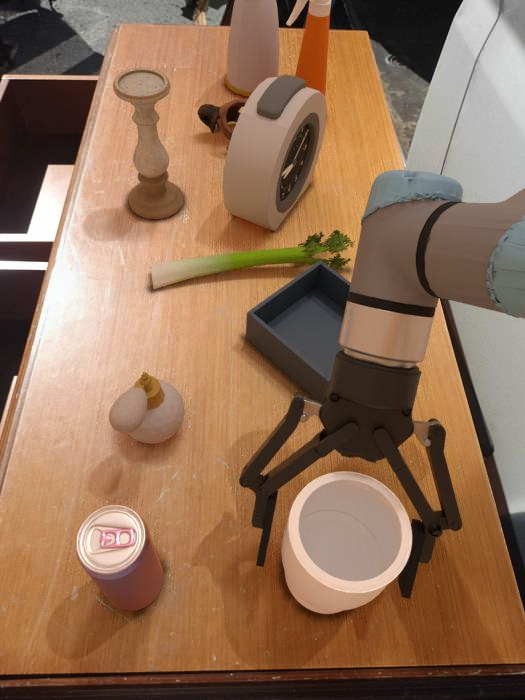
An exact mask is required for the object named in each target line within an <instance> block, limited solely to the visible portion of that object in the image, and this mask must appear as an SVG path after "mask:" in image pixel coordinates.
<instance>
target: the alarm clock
mask: <svg viewBox="0 0 525 700" xmlns="http://www.w3.org/2000/svg"><path fill="white" fill-rule="evenodd" d="M246 101H247V102H246V104H245V106H244V107H242V110H241V111H240V116H239V118H238V121H237V122H235V125H234V127H233V128H234V129H232V130H233V133H232V137H231V140H230V144H229V143H228V144H229V147H228V150H227V149H226V156H225V161H224V165H223V173H222V188H221V189H222V196H223V198H222V199H223V203H224V206H225V208H226V210H227V212H229V213H230V214H231V215H232V216H235V217H237V218H240V219H242V220H244V221H247V222H248V223H249V222H250V223H253V224H254V225H257V226H260V227H262V228H265V229H267V230H270V231H276V230H277V229H278V228H279V227H280V225H281V224H282V222H283V221H284V220H285V218H286V217H287V216H288V214H289V213H290V211H291V210H292V209H293V208H294V206H295V205H296V203H297V202H298V200H300V198H301V197H302V195H303V194H304V193H305V191H306V190H307V188H308V187H309V185H310V183H311V181H312V178H313V175H314V172H315V170H316V167H317V164H318V162H319V157H320V154H321V151H322V148H323V142H324V137H325V132H326V126H327V118H328V109H327V106H328V105H327V101H326V95H325V96H324V95H323V94H322V93H321V92H320V91H317V90H314V89H311V88H308V87H306V81H305V80H303V79H301V78H298V77H295V75H291V74H287V73H286V74H282V75H280V76H279V78H278V77H271V78H267V79H266V80H265V81H263V82H262V83H260V84H259V85H258V87H257V88H256V89H255V90H254V92H253V93H252V94H251V95H250V97H249V96H248V99H247V100H246Z"/></svg>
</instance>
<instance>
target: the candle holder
mask: <svg viewBox="0 0 525 700" xmlns="http://www.w3.org/2000/svg"><path fill="white" fill-rule="evenodd" d="M112 88H113V92H114V94H115V95H116V97H118V99H120V100H121V101H124V102H126V103H129V104H131V105H132V106H133V107H134V112H133V113H132V116H131V120H132V121H133V123H134V124H136V127H137V143H136V146H135V148H134V151H133V156H132V162H133V166H134V168H135V170H136V171H137V172H138V173H137V180H138V181H139V183H138V184H136V185H135V186H133V188H132V189H130V192H129V193H128V205H129V207H130V209H131V210H132V211H133V213H135V215H138V216H139V217H141V218H145V219H150V220H161V219H166V218H168V217H171V216H173V215H175V214H176V213H178V212H179V211H180V210H181V208H182V206H183V204H184V194H183V191H182V189H181V188H180V187H179V186H178V185H177V184H176V183H174V182H171V181H170V180H169V178H170V177H169V172H168V168H169V165H170V157H169V154H168V151H167V149H166V147H165V146H164V144H163V143H162V141H161V139H160V137H159V132H158V127H157V123H158V122H159V120H160V114H159V113H158V112H157V110H156V109H155V105H156V104H157V103H158V102H159V101H161V100H164V99H165V98H166V97H167V96H168V95H169V93H170V92H171V82H170V79H169V78H168V76H167V75H166V74H165V73H163V72H162V71H159V70H157V69H154V68H149V67H134V68H130V69H126V70H124V71H122V72H120V73H118V74H117V75H116V76H115V78H114V79H113V82H112Z"/></svg>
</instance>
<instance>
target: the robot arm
mask: <svg viewBox="0 0 525 700" xmlns="http://www.w3.org/2000/svg"><path fill="white" fill-rule="evenodd" d="M462 186H463V185H461V183H460V182H459V180H456V179H455V178H452V177H450V176H447V175H442V174H438V173H434V172H429V171H423V170H417V171H414V170H408V169H392V170H386V171H384V172H381V173H379V174H378V175H377V176H376V177H375V178H374V180H373V182H372V184H371V188H370V191H369V195H368V199H367V202H366V206H365V209H364V212H363V216H362V217H361V219H360V226H361V227H360V233H359V237H358V238H359V239H358V245H357V248H356V249H357V250H356V254H355V259H354V264H353V269H352V275H351V280H350V282H351V284H350V290H349V291H350V292H349V294H348V300H347V303H346V308H345V313H344V317H343V322H342V327H341V332H340V337H339V341H338V342H339V343H340V345H341V346H342V347H344V350H341V351H339V352H338V353H337V354H336V356H335V361H334V366H333V370H332V375H331V380H330V385H329V390H328V394H327V396H326V398H325V399H324V401H323V402H322V403H321V402H318V401H317V400H316V399H312V398H308V397H306V396H305V394H304V393H303V392H301V391H297V392H294V393H293V394H292V396H291V399H290V403H289V405H288V408H287V411H286V414H285V415H284V416H283V418H281V420H280V421H279V422H278V424H277V425H276V426H275V428H274V429H272V431H271V432H270V434H269V435H268V437H266V438H265V440H264V441H263V443H262V444H261V445H260V446H259V448H258V449H257V450H256V451H255V453H254V454H253V455H252V456H251V458H250V459H249V461H248V462H247V463H246V464H245V465H244V467H243V468H242V470H241V473H240V476H239V479H238V485H239V486H240V487H242V488H244V489H247V488H248V489H249V490H251V491H252V492H253V493H254V495H255V501H254V505H253V511H252V515H251V516H252V517H251V526H252V528H254V529H260V530H262V531H261V536H260V542H259V546H258V552H257V557H256V562H255V566H256V567H260V568H264V567H265V563H266V559H267V558H266V557H267V552H268V546H269V541H270V537H271V533H272V532H271V531H272V527H273V521H274V516H275V511H276V505H277V501H278V496H279V495H278V494H279V490H280V489H281V488H283V487H284V486H285V485H287V483H289V482H290V481H292V480H293V479H294V478H296V477H297V476H299V475H300V474H301V473H302V472H304V471H305V470H307V469H308V468H309V467H311V466H312V465H313V464H315V463H316V462H317V461H319V460H321V459H323V458H325V457H327V456H329V454H331V453H332V452H333V451H336V452H337V453H339V454H340V456H341V457H344V458H348V459H349V458H350V459H351V458H360V459H362V460H364V461H366V462H369V463H373V464H376V463H377V462H379V461H383V460H386V461H387V462H388V465H389V466H390V468H391V470H392V471H393V474H395V476H396V478H397V480H398V481H399V483H400V485H401V486H402V488H403V490H404V492H405V494H406V495H407V497H408V498H409V499H408V500H410V503H411V504H412V506H413V508H414V510H415V511H416V513H417V515H418V516H419V518H420V519H417V518H412V519H411V522H410V524H411V529H412V547H411V552H410V555H409V558H408V561H407V563H406V565H405V567H404V568H403V570H402V571H401V572H400V574H399V575H398V576H397V584H398V588H399V592H400V596H401V598H404V599H408V600H411V596H412V593H413V588H414V585H415V580H416V576H417V572H418V568H419V564H420V563H421V564H425V565H429V563H430V561H431V560H432V556H433V552H434V548H435V544H436V541H437V539H438V538H440V537H441V536H442V535H443V531H448V530H451V531H452V532H459V531H460V530H462V528H463V520H462V517H461V513H460V508H459V505H458V502H457V497H456V493H455V490H454V486H453V482H452V478H451V474H450V470H449V466H448V463H447V459H446V455H445V444H446V436H447V430H446V429H445V427H444V426H443V425H442V423H441V422H440V421H439V419H437V418H435V417H434V418H430V419H428V420H427V421H426V420H415V419H414V420H413V409H414V405H415V401H416V397H417V392H418V388H419V384H420V380H421V376H422V370H420V367H419V365H418V366H417V364H419V363H421V362H423V361H425V359H426V354H427V350H428V346H429V345H428V344H429V340H430V337H431V331H432V327H433V323H434V319H435V315H436V311H437V310H436V309H437V308H438V304H439V299H440V300H443V301H444V300H445V301H451V302H456V303H461V304H464V305H469V306H473V307H476V308H480V309H484V310H485V309H486V310H489V311H493V312H497V313H502V314H505V315H507V316H512V317H513V318H516V319H523V320H525V187H524V188H523V189H521V190H519V191H518V192H515V193H514V194H513V195H511V196H510V197H508V198H507V199H505V200H502V201H498V202H466V201H465V202H464V201H463V195H464V189H463V187H462ZM313 416H318V418H319V420H320V423H321V425H322V427H323V428H322V429H321V430H320V431H319V432H317V433H316V434H314V436H313V437H312V439H310V440H309V441H307V443H304V444H303V446H301V447H300V448H298V449H297V450H295V452H293V453H292V454H290V455H289V456H288V457H287V458H285V459H284V460H282V461H281V462H280V463H278V464H277V465H275V466H274V467H272V469H271V470H269V471H267V473H264V474H263V473H262V472H263V471H264V470H265V469H266V467H267V466H268V465H269V464H270V462H271V461H272V460H273V458H274V457H276V455H277V454H278V453H279V452H280V450H281V448H283V446H284V445H285V443H286V442H287V441H288V440H289V439H290V437H291V436H292V435H293V434H294V432H296V430H297V428H298V426H299V423H306V422H308V421H309V420H310V419H311V417H313ZM413 435H416V436H417V439H418V441H419V443H420V445H421V446H422V447H424V448H425V453H426V457H427V460H428V464H429V467H430V468H429V469H430V471H431V475H432V479H433V482H434V483H433V484H434V486H435V490H436V495H437V498H438V501H439V506H440V509H441V510H433V508H432V506H431V504H430V503H429V501H428V499H427V498H426V496H425V494H424V492H423V490H422V489H421V486H420V485H419V483H418V482H417V480H416V477H415V476H414V474H413V472H412V471H411V469H410V467H409V466H408V464H407V462H406V460H405V458H404V457H403V455H402V453H401V451H400V449H399V447H400V446H402V445H403V444H404V443H405V442H406V441H408V440H409V439H410V438H411V437H412V436H413Z"/></svg>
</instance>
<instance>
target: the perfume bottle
mask: <svg viewBox="0 0 525 700" xmlns="http://www.w3.org/2000/svg"><path fill="white" fill-rule="evenodd" d="M185 410H186V409H185V402H184V400H183V397H182V394H181V393H180V392H179V390H178V389H177V388H176V387H174V386H173V385H172V384H171V383H169V382H166V381H164V380H162V379H158V378H156V377H155V376H153V375H150V374H149V373H148V372H146V371H143V372H142V374H141V376H140V377H139V378H137V380H136V381H135V382H134V384H133V385H132V386H131V387H130V388H128V390H126V391H125V392H123V393H122V394H120V395H119V396H118V398H116V400H115V401H114V402H113V404H112V406H111V408H110V410H109V413H108V421H109V424H110V426H111V427H112V429H113V430H114V431H116V432H118V433H121V434H128V435H129V436H130V437H131V438H133V439H134V440H136V441H139V442H142V443H144V444H152V445H153V444H160V443H162V442H165V441H167V440H169V439H170V438H172V437H173V436H174V435H175V434H176V433H177V432H178V431H179V430H180V428H181V426H182V424H183V422H184V419H185V413H186V412H185Z"/></svg>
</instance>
